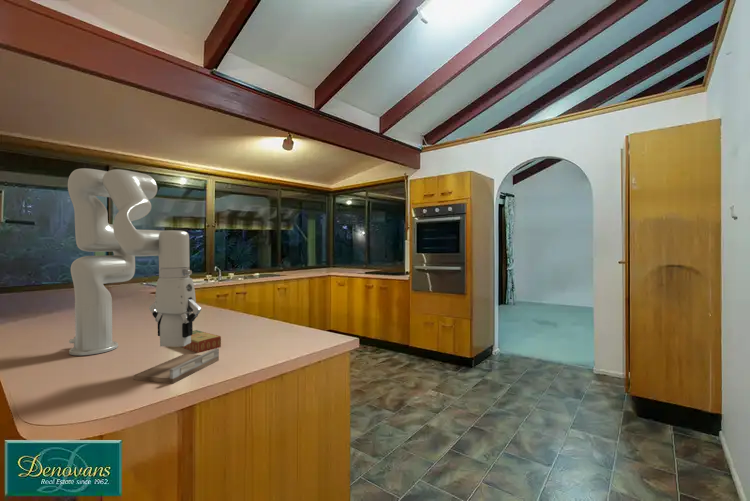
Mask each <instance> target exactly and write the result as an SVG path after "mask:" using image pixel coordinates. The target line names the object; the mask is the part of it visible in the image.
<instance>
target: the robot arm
mask: <svg viewBox="0 0 750 501" xmlns="http://www.w3.org/2000/svg"><path fill="white" fill-rule="evenodd" d="M67 191H68V195H69V197H70V201H71V203H72V206H73V209H74V210H73V211H74V228H75V230H74V231H75V232H74V234H75V242H76V246H77V248H78V249H79V250H81V251H83V252H89V253H90V252H91V253H92V252H95V253H96V252H97V253H99V252H102V253H103V252H105V253H107V252H108V253H109V252H113V255H86V256H81V257H78V258H77V259H75V260H73V262H72V263H71V266H70V274H71V275H70V276H71V280H72V283H73V290H74V312H75V313H74V315H75V316H74V317H75V320H74V321H75V324H74V326H75V327H74V328H75V329H74V330H75V332H74V333H75V336H74V337H73V338H71V339H69V340H68V343H69V344H73V347H72V348H70V349H69V350H68V351H69V352H68V354H69V355H71V356H90V355H91V356H92V355H97V354H103V353H107V352H110V351H112V350H115V349H117V348H118V347H119V343H118V342H117V341H113V298H112V294H111V292H110V290H108V288H107V287H105V285H104V284H114V283H123V282H124V283H125V282H128V281H130V280H131V279H133V277H134V276H135V273H136V257H152V256H153V257H158V279H157V281H156V287H155V294H154V295H155V298H154V302H153V303H152V304H151V305H150V306H149V307H148V308H149V311H150V312H151V313H152V316H153V318H155V322H156V323H157V336H158V337H160V323H161V319H162V315H163V314H180V315H181V317H182V319H183V321H184V323H183V324H182V337H184V338H185V337H188V336H191V335H192V331H194V330H193V329H194V328H193V325H194V324H193V322H195V319H196V318H198V316H199V314H200V312H201V311H202V307H201V306H200V305H199V304H198V303H197V299H196V298H197V297H196V290H195V283H194V281H193V278H192V277H190V276H191V275H192V274H193V271H192V269H190V235H189V232H187V231H185V230H172V229H171V230H169V229H168V230H167V229H166V230H156V229H136V227H135V226H134V225H133V223H132V222H135V221H138V220H140V219H142V218H144V217H146V216H148V215H149V214H150V212H151V210H152V203H151V201H150V200H152V199H154V198H155V197H156V195H157V193H158V185H157V182H156V180H155V179H154V178H153V177H152V176H151V175H149V174H147V173H141V172H138V171H132V170H128V169H119V168H117V169H116V168H115V169H111V170H110V169H109V170H108V171H107V170H101V169H96V168H95V169H94V168H77V169H74V170H73V171H72V172H71V173H70V175H69V176H68V180H67ZM98 197H103V198H110V199H111V200H112V202H113V204H114V205H115V207H116V209H117V210H118V212H117V213H116V215H115V216H114V219H113V223H112V224H110V223H109V220H108V219H109V218H108V216H109V215H108V209H107V208H106V206H105V205H104V203H103V202H102V201H101V200H100V199H99V198H98ZM186 310H187V311H186ZM186 314H187V315H188V317H187V315H186Z"/></svg>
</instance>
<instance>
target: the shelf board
mask: <svg viewBox="0 0 750 501" xmlns="http://www.w3.org/2000/svg"><path fill="white" fill-rule="evenodd" d="M219 355H220V349H219V348H215V349H211V350H208V351H206V352H205V353H203V354H195V353H194V354H193V353H183V354H181V355H178V356H176V357H173V358H172V359H169V360H167V361H164V362H162V363H159V364H157V365H155V366H153V367H150V368H147V369H145V370H143V371H140V372H138V373H136V374H133V380H135V381H143V382H155V383H162V382H163V384H175V383H177V382H180V380H183V379H184V378H186V377H188V376H191V375H193V374H196V373H197V372H199V371H200V370H203V369H204V368H206V367H208V366H210V365H213V364H214V363H216V362H218V361H219V360H220V359H219V358H220V356H219Z"/></svg>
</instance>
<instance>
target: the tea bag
mask: <svg viewBox="0 0 750 501" xmlns="http://www.w3.org/2000/svg"><path fill="white" fill-rule="evenodd" d="M186 311H187V310H186ZM186 315H187V314H186ZM187 317H188V315H187ZM183 323H184V321H183V319H182V317H181V315H180V314H163V315H162V319H161V323H160V336H159V347H179V346H186V345H187V344H189V343H191V336H188V337H185V338H184V337H182V324H183Z"/></svg>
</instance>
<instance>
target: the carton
mask: <svg viewBox="0 0 750 501" xmlns="http://www.w3.org/2000/svg"><path fill="white" fill-rule="evenodd" d="M178 347H180V348H183V349H185V350H189V351H190V352H191V351H192V352H193V353H194V352H195V353H197V354H199V353H202V352H208V351H211V350H213V349H216V348H217V349H219V348H221V347H222V336H221V335H217V334H214V333H210V332H206V331H205V332H204V331H201V330H198V329H196V330H195V329H194V330H193V331H192V335H191V343H189V344H187V345H186V346H178Z"/></svg>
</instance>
